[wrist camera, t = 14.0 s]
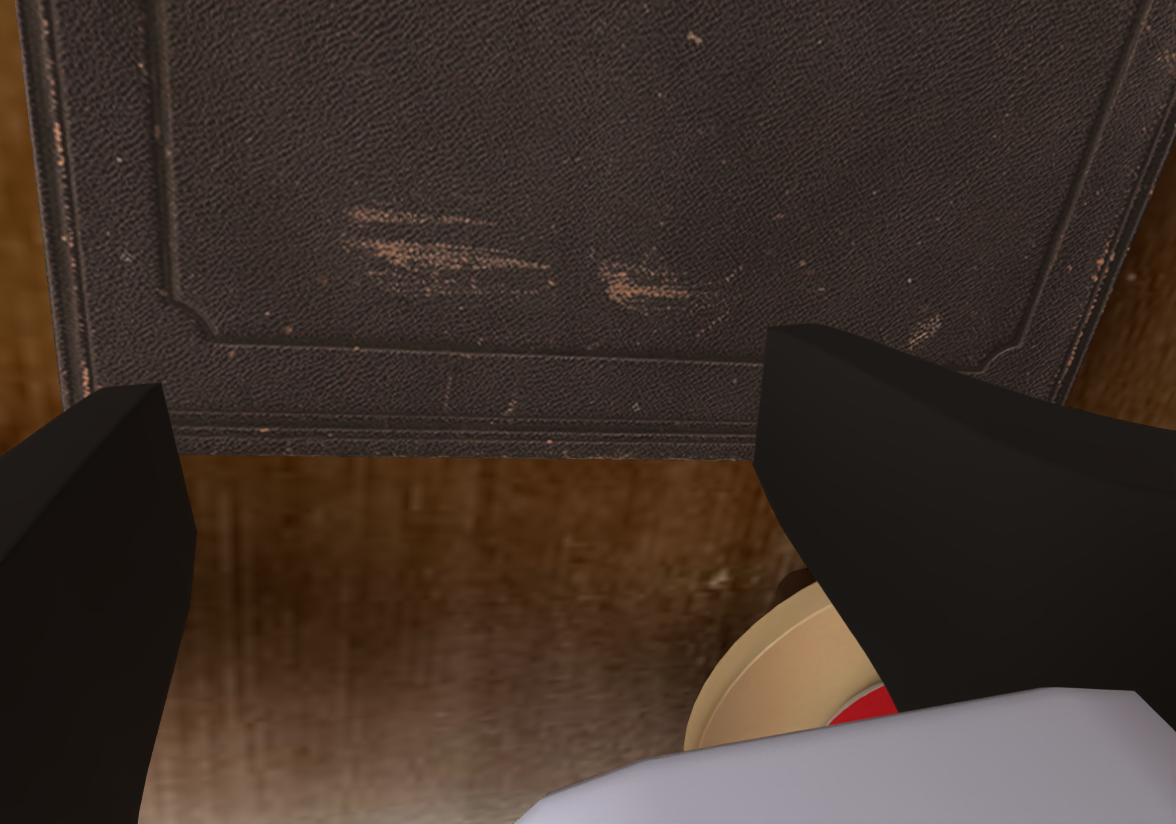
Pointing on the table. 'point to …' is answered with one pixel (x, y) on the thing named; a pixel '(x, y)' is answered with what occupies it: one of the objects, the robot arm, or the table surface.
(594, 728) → the table surface
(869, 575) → the robot arm
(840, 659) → the tan round coaster
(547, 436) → the old brown book
